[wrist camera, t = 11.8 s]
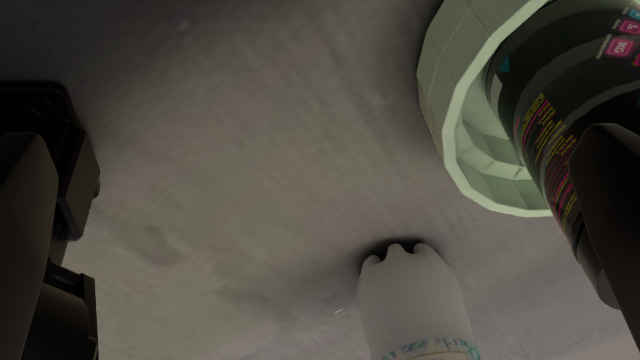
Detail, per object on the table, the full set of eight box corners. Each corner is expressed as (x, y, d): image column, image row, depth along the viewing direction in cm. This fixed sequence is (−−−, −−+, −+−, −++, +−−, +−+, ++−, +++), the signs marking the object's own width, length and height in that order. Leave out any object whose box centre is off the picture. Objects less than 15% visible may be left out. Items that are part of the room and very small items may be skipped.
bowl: (390, 154, 25) (412, 222, 22) (457, -127, 16) (508, -80, 13) (616, 149, 27) (665, 211, 24) (787, -109, 18) (902, -63, 15)
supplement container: (634, 83, 23) (815, 272, 16) (490, 137, 24) (596, 333, 17) (642, -53, 18) (904, 126, 11) (464, 23, 20) (593, 226, 13)
